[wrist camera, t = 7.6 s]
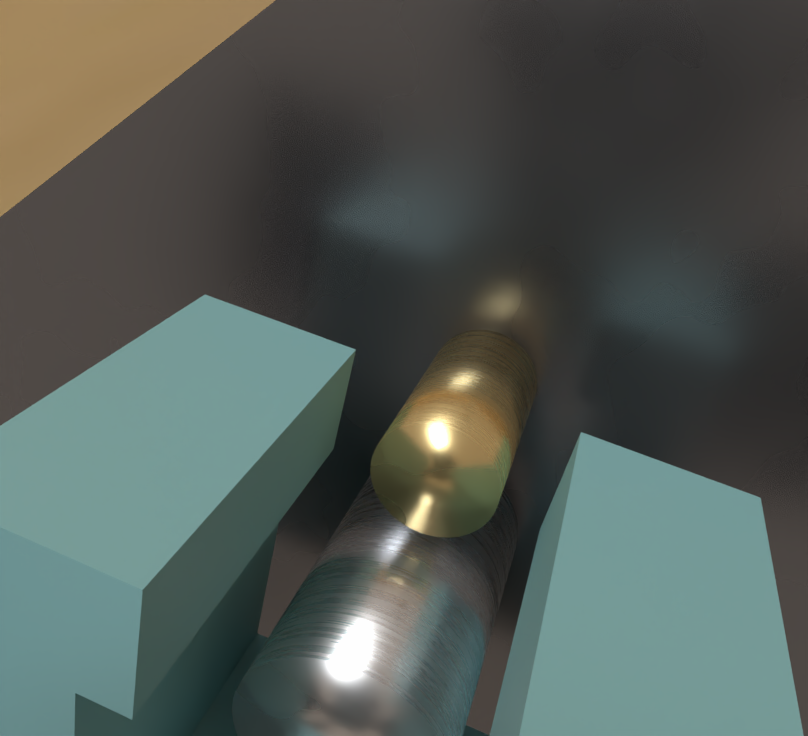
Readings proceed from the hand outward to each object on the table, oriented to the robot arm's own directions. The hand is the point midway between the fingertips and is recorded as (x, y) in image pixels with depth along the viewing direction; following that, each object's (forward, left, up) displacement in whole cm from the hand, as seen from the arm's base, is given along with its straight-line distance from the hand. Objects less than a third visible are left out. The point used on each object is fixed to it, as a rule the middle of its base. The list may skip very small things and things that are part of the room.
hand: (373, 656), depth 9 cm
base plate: (0, 0, -4) cm, 4 cm away
